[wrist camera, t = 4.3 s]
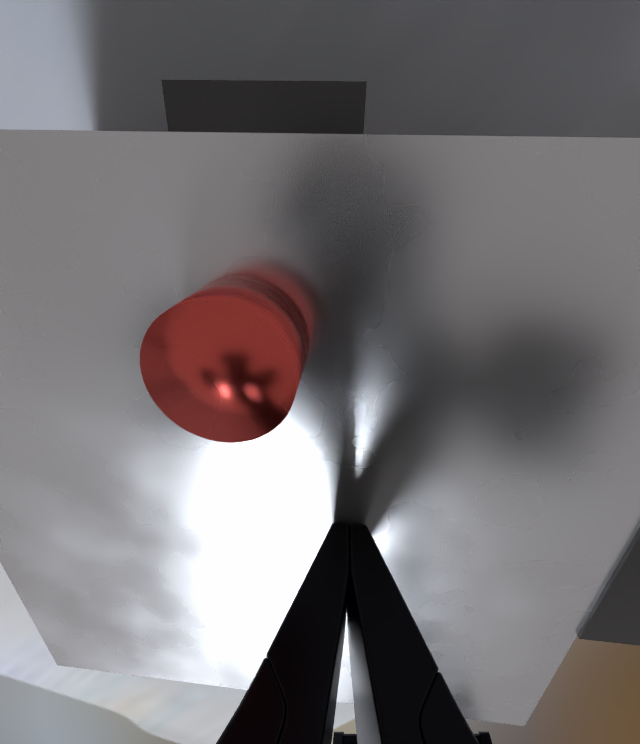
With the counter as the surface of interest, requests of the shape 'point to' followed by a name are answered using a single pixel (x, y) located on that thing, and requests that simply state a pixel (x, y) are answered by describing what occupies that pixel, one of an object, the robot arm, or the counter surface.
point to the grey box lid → (320, 393)
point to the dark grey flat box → (265, 106)
